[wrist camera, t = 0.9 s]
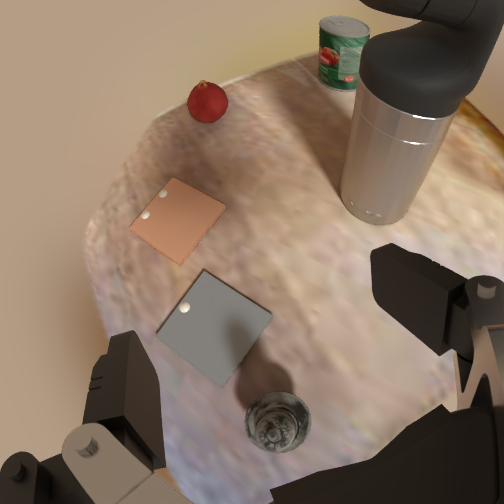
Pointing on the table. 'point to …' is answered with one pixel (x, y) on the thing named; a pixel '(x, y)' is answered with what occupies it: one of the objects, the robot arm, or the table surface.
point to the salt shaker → (278, 422)
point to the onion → (207, 102)
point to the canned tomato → (341, 51)
